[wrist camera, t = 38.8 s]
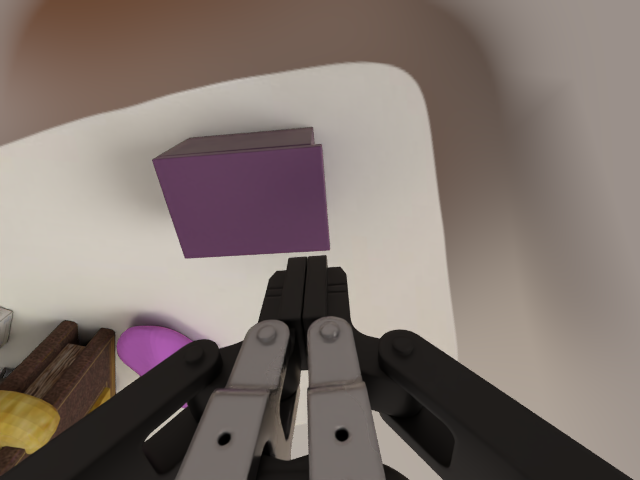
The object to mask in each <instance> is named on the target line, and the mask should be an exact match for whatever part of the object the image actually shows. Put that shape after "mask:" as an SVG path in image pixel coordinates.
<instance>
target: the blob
mask: <svg viewBox="0 0 640 480" xmlns="http://www.w3.org/2000/svg"><path fill="white" fill-rule="evenodd" d="M190 342H193V341H192V340H190V339H189V338H187V337H186V336H184V335H182V334H181V333H179V332H177V331H174V330H172V329H169V328H165V327H160V326H134V327H131V328H128V329H127V330H126V331H124V332H123V333H122V334H121V336H120V338H119V339H118V343H117V353H118V356H119V357H120V359H121V360H122V361H123V362H124V363H125V364H126V365H127V366H129V367H130V368H131V369H133V370H134V371H135V372H136V373H138V374H139V375H140V377H141V376H142V375H144V374H145V373H147V372H148V371H149V370H151V369H152V368H154V367H155V366H156V365H158V364H159V363H161V362H162V361H163V360H165V359H166V358H168V357H169V356H170V355H172V354H173V353H175V352H176V351H177V350H179V349H180V348H182V347H183V346H185V345H186V344H188V343H190ZM187 406H188V405H187V403H186V404H185V405H183V406H182V408H186V407H187Z"/></svg>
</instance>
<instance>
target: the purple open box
mask: <svg viewBox="0 0 640 480" xmlns="http://www.w3.org/2000/svg"><path fill="white" fill-rule="evenodd" d="M302 145H315V143H314V132H313V127H309V128H298V129H286V130H275V131H263V132H251V133H240V134H228V135H216V136H205V137H193V138H189V139H187V140H185V141H183V142H182V143H180V144H178V145H176V146H175V147H173V148H171V149H169V150H168V151H166V152H164V153H162V154H161V155H159V156H157V157H161V156H174V155H187V154H200V153H212V152H225V151H238V150H251V149H264V148H276V147H289V146H302Z"/></svg>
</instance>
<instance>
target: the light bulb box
mask: <svg viewBox="0 0 640 480" xmlns="http://www.w3.org/2000/svg"><path fill="white" fill-rule="evenodd" d="M12 314H13V311H9V310H6V309H3V308H1V307H0V348H1V347H3V346H4V345H5V344H6V343H7V341H8V336H9V331H10V325H11V320H12Z"/></svg>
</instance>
